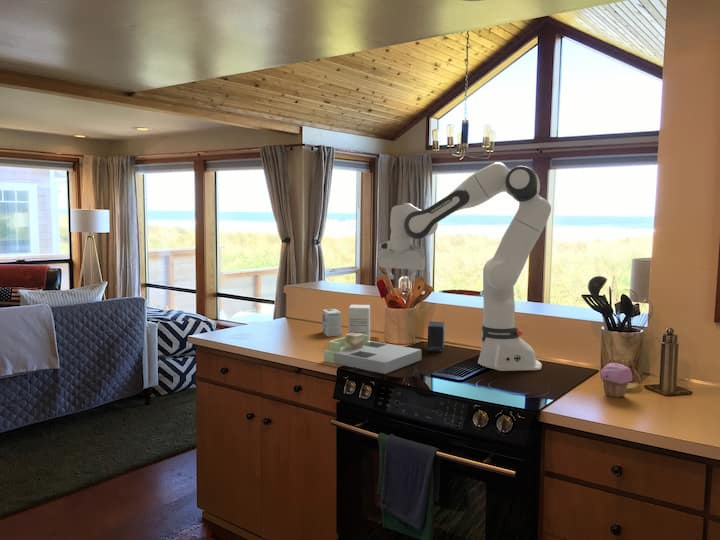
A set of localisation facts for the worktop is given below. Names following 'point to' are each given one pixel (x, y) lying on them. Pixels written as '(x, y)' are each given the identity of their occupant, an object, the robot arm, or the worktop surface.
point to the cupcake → (615, 379)
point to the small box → (436, 336)
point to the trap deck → (371, 355)
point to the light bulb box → (331, 322)
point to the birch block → (353, 340)
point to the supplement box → (359, 319)
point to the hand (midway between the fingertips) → (401, 280)
